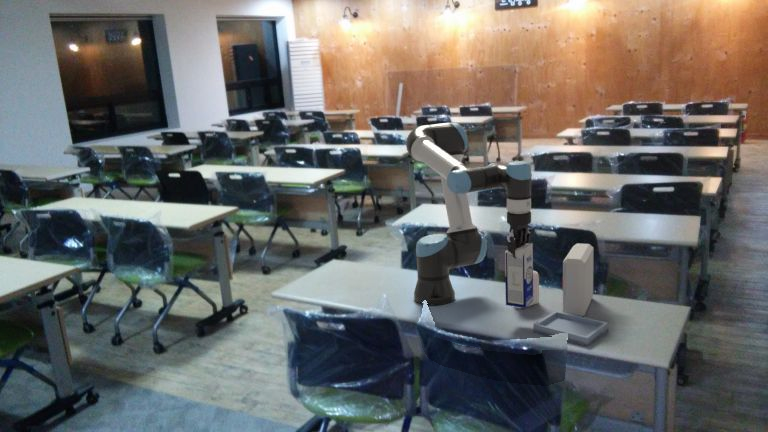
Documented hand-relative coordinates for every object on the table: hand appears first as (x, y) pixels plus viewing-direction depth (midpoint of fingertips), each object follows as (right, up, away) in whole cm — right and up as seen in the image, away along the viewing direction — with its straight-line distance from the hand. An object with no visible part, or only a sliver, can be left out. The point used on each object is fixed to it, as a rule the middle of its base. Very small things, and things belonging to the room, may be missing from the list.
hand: (519, 281), depth 201 cm
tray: (+15, -15, -6) cm, 22 cm away
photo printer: (+6, -10, +18) cm, 21 cm away
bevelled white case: (+23, -10, +13) cm, 28 cm away
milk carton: (0, -7, +1) cm, 7 cm away
